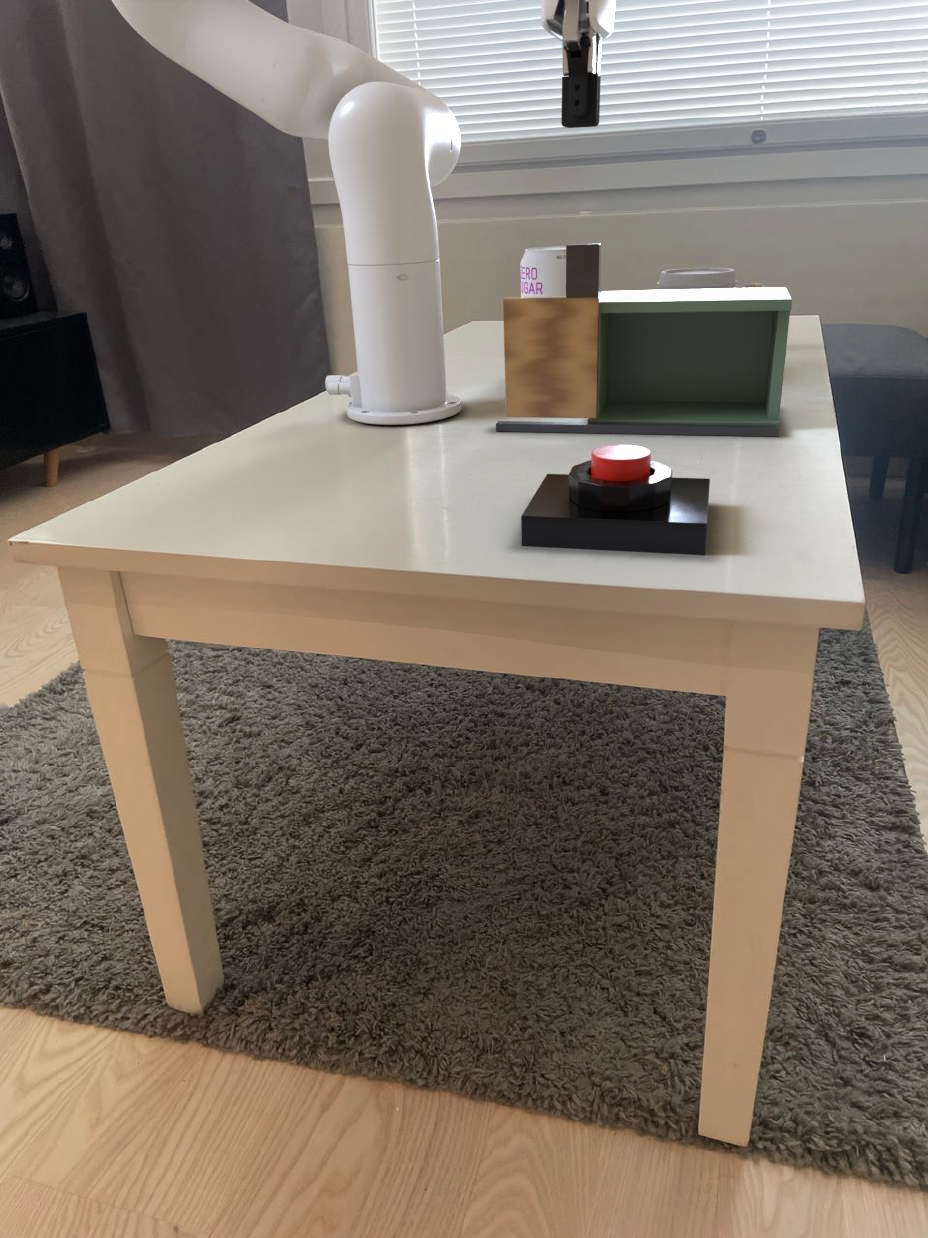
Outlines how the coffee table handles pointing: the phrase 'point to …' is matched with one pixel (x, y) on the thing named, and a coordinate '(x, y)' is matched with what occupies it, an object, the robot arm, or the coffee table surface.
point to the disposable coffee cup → (697, 278)
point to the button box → (619, 513)
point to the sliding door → (556, 344)
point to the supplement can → (543, 272)
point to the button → (620, 463)
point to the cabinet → (686, 363)
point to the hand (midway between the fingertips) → (580, 126)
